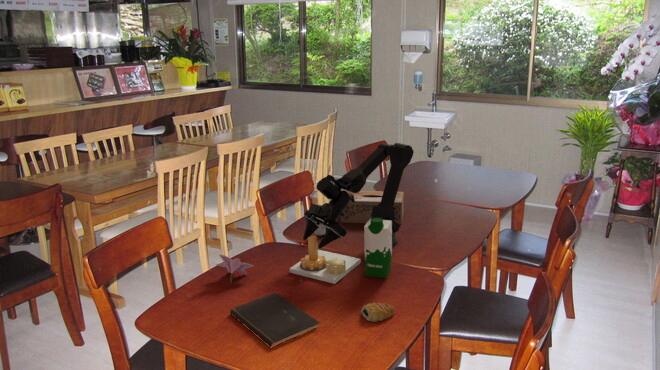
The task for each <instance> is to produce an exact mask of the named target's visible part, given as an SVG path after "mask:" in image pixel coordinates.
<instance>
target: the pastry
mask: <svg viewBox="0 0 660 370" xmlns="http://www.w3.org/2000/svg"><path fill="white" fill-rule="evenodd" d="M361 314H362V316H363V317H364V318H365V319H366V320H367V321H368V322H371V323H374V322H375V323H377V322H381V321H384V320H387V319H389V318H391V317H393V315H394V314H395V307H394V306H393V305H392V304H389V303H384V302H383V303H382V302H372V303H367V304H366V305H363V306H362V308H361Z"/></svg>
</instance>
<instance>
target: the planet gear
mask: <svg viewBox="0 0 660 370" xmlns="http://www.w3.org/2000/svg"><path fill="white" fill-rule="evenodd" d="M307 242H308V243H307V245H308V248H307V249H308V254H306V255H305V256H304V257H301V259H300V261H301V265H303V268H304V269H305V268H309V269H310V270H314V269H317V268H319V269H321V268H323V267H322V266H326V259H325V256H323V255H322V256H319V255H318V250H319V248H318V245H319V242H318V236H316V235H311V236H310V237H308V239H307Z"/></svg>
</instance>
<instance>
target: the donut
mask: <svg viewBox="0 0 660 370" xmlns="http://www.w3.org/2000/svg"><path fill="white" fill-rule="evenodd" d="M327 224H328V223H327ZM316 225H317V224H316ZM317 226H319V228H318V229H317V230H316V231H315V232H314V234H315V235H317V236H324V235H325V233H326V227H327V226H325V225H323V224H320V225H317ZM327 228H329V227H327ZM329 229H330V228H329Z"/></svg>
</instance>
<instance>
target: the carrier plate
mask: <svg viewBox="0 0 660 370" xmlns="http://www.w3.org/2000/svg"><path fill="white" fill-rule="evenodd" d="M318 255H319V256H322V255H323V256H325V259H326V266H322V267H323V268H321V269H319V268H317V269H314V270H310V269H309V268H305V269H304V268H303V265H301V260H299V262H297V263H296V264H294V265H293V266H291V267H290V268H289V273H291V274H294V275H298V276H301V277H306V278H310V279H314V280H318V281H323V282H326V283H330V284H334V285H335V284H336V283H337V282H339V281H340V280H341V279H343V278H344V277H346V275H348V274H349V273H350V272H351V271H352V270H354V269H355V268H356V267H358V266H359V265H360V264H361V262H362V259H361V258H358V257H353V256H349V255H345V254H341V253H334V252H330V251H327V250H326V251H325V250H321V249H318Z"/></svg>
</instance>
